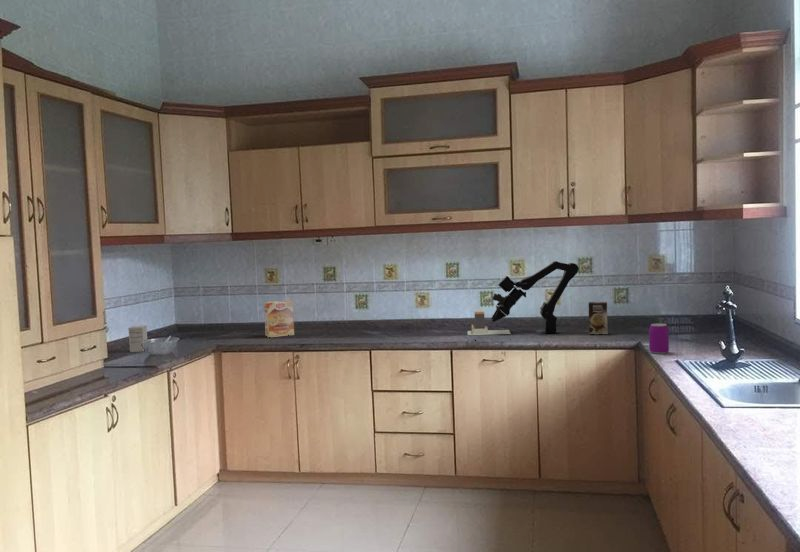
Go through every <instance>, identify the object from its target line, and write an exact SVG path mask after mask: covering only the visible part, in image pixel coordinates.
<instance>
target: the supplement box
mask: <svg viewBox="0 0 800 552" xmlns="http://www.w3.org/2000/svg"><path fill="white" fill-rule="evenodd" d="M127 330H128V342H129V343H128V344H129V352H130V353H136V352H139V353H140V352H145V351H144V349H143V348H142V346H141V342H142V341H144V340H147V341H148V331H147V330H148V329H147V325H145V324H144V325H143V324H141V325H132V326H129V327H128V329H127Z"/></svg>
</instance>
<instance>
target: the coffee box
mask: <svg viewBox="0 0 800 552" xmlns="http://www.w3.org/2000/svg"><path fill="white" fill-rule="evenodd" d="M589 334H607V335H608V302H607V301H589V302H588V335H589Z"/></svg>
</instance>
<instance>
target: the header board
mask: <svg viewBox="0 0 800 552" xmlns="http://www.w3.org/2000/svg"><path fill="white" fill-rule="evenodd" d="M509 334H510V335H511V332H510V330H509V329H495V330H494V329H492V330H491V329H490V330H489V329H488V326H485V329H475V326H474V324H471V330H467V335H468V336H477V335H478V336H479V335H480V336H481V335H485V336H486V335H509Z"/></svg>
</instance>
